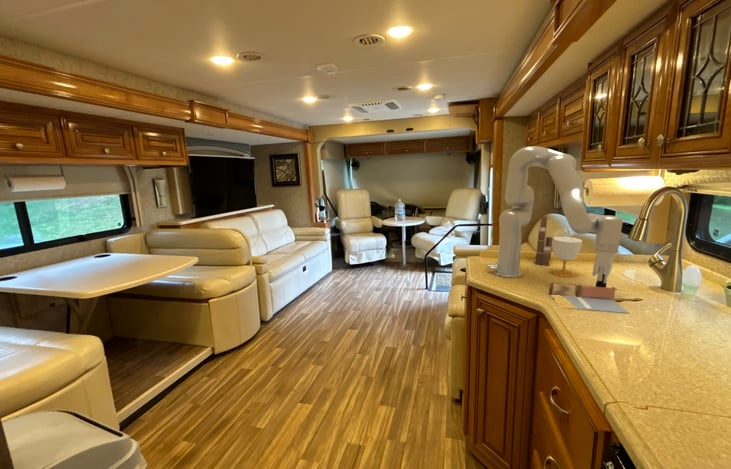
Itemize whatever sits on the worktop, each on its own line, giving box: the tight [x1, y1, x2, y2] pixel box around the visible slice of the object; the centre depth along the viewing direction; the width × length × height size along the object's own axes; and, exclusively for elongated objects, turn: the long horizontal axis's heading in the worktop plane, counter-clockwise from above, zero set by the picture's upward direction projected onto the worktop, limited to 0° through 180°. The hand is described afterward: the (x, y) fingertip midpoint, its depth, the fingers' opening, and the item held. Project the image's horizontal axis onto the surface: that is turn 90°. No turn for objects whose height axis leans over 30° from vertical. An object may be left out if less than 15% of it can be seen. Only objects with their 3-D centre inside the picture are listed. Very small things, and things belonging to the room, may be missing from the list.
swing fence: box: [580, 285, 616, 300], centre depth 128 cm, size 11×1×4 cm, turn 76°
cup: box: [552, 236, 583, 278], centre depth 157 cm, size 12×12×17 cm
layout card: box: [562, 294, 630, 314], centre depth 125 cm, size 22×14×1 cm, turn 76°
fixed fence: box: [548, 282, 582, 297], centre depth 131 cm, size 11×1×5 cm, turn 76°
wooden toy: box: [534, 215, 554, 267], centre depth 176 cm, size 16×7×25 cm, turn 149°
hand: (600, 292), depth 132 cm, fingers closed
